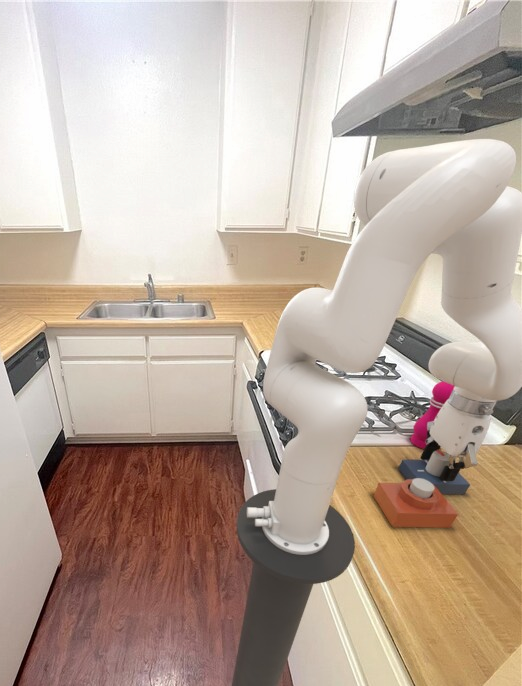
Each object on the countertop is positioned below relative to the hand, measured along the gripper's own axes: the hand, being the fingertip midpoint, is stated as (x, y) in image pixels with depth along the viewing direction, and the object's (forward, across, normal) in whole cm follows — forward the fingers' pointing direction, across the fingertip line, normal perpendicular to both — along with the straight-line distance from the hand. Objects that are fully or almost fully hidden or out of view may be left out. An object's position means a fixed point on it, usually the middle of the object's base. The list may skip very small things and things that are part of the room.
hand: (436, 468), depth 81 cm
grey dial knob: (+1, 0, 0) cm, 1 cm away
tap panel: (+4, 0, 0) cm, 4 cm away
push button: (-2, -10, +10) cm, 14 cm away
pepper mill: (+4, +16, -7) cm, 18 cm away
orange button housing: (+4, -10, +10) cm, 15 cm away
